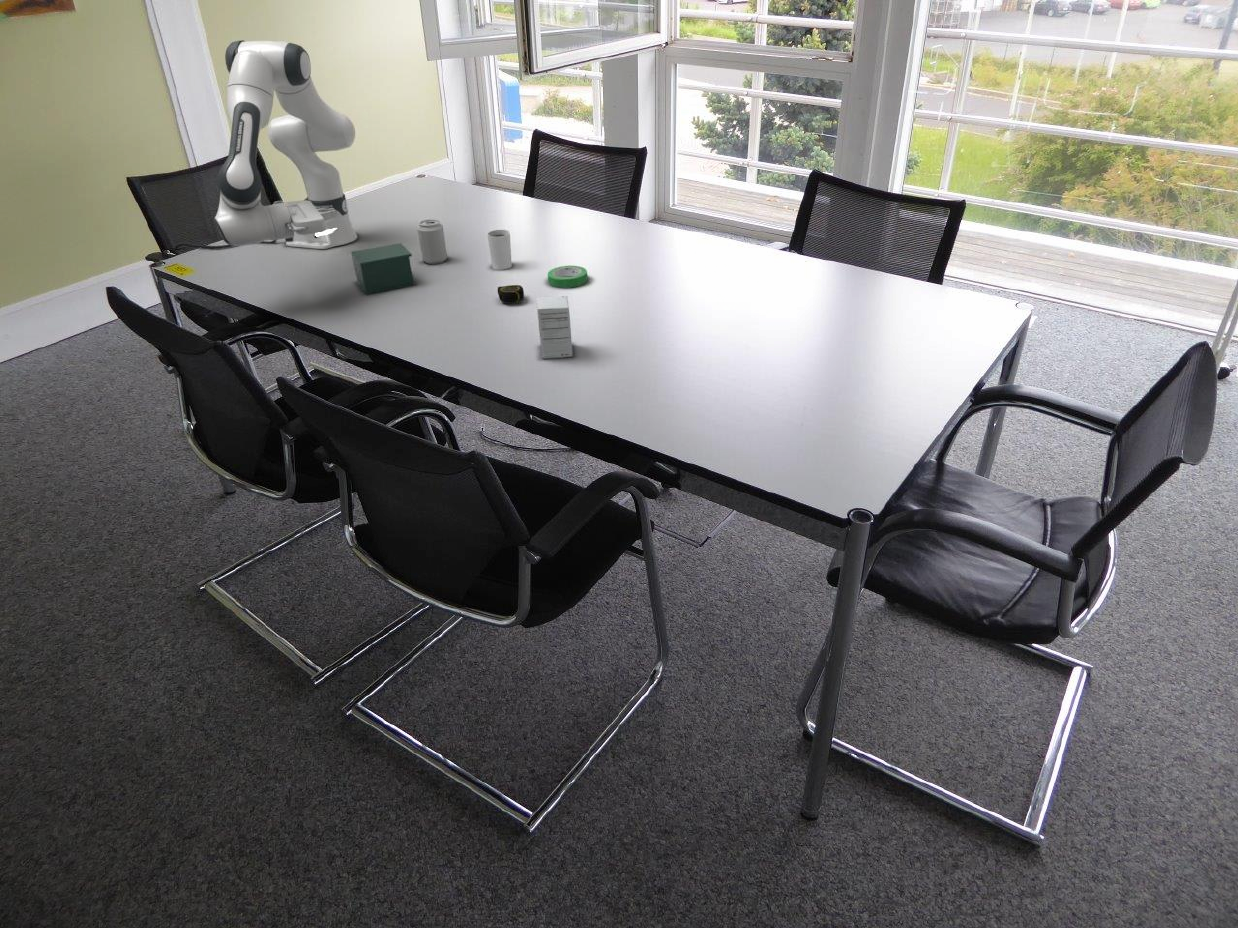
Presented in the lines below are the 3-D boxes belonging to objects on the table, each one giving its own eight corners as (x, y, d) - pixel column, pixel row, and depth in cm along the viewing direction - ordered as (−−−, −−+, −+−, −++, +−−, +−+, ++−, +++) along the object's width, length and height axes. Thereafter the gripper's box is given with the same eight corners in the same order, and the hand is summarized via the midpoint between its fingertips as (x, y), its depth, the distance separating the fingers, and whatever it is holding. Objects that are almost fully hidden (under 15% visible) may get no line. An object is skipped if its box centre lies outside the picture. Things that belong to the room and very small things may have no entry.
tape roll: (540, 282, 246) (539, 273, 244) (568, 271, 252) (567, 262, 251) (567, 291, 239) (567, 282, 238) (595, 279, 246) (595, 270, 245)
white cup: (517, 264, 259) (514, 231, 254) (505, 271, 254) (502, 238, 249) (498, 261, 262) (494, 228, 256) (486, 268, 257) (482, 235, 251)
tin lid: (401, 245, 252) (401, 243, 251) (411, 256, 243) (411, 253, 243) (351, 254, 246) (351, 251, 246) (360, 265, 238) (360, 263, 238)
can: (450, 256, 267) (444, 217, 261) (443, 265, 261) (438, 225, 254) (426, 256, 268) (420, 217, 261) (419, 265, 262) (413, 225, 255)
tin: (403, 273, 256) (398, 245, 251) (413, 285, 247) (409, 256, 243) (357, 282, 251) (351, 254, 246) (366, 294, 242) (360, 266, 238)
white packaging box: (541, 346, 210) (536, 296, 203) (571, 344, 210) (568, 294, 203) (541, 359, 204) (536, 309, 197) (572, 357, 204) (569, 306, 197)
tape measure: (523, 295, 238) (522, 282, 236) (525, 304, 232) (524, 291, 230) (498, 298, 237) (496, 284, 235) (500, 307, 231) (498, 294, 229)
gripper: (286, 219, 219) (341, 210, 224) (274, 200, 235) (326, 192, 240) (292, 243, 223) (346, 234, 228) (279, 223, 238) (330, 214, 243)
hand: (336, 212), depth 234 cm, fingers closed
